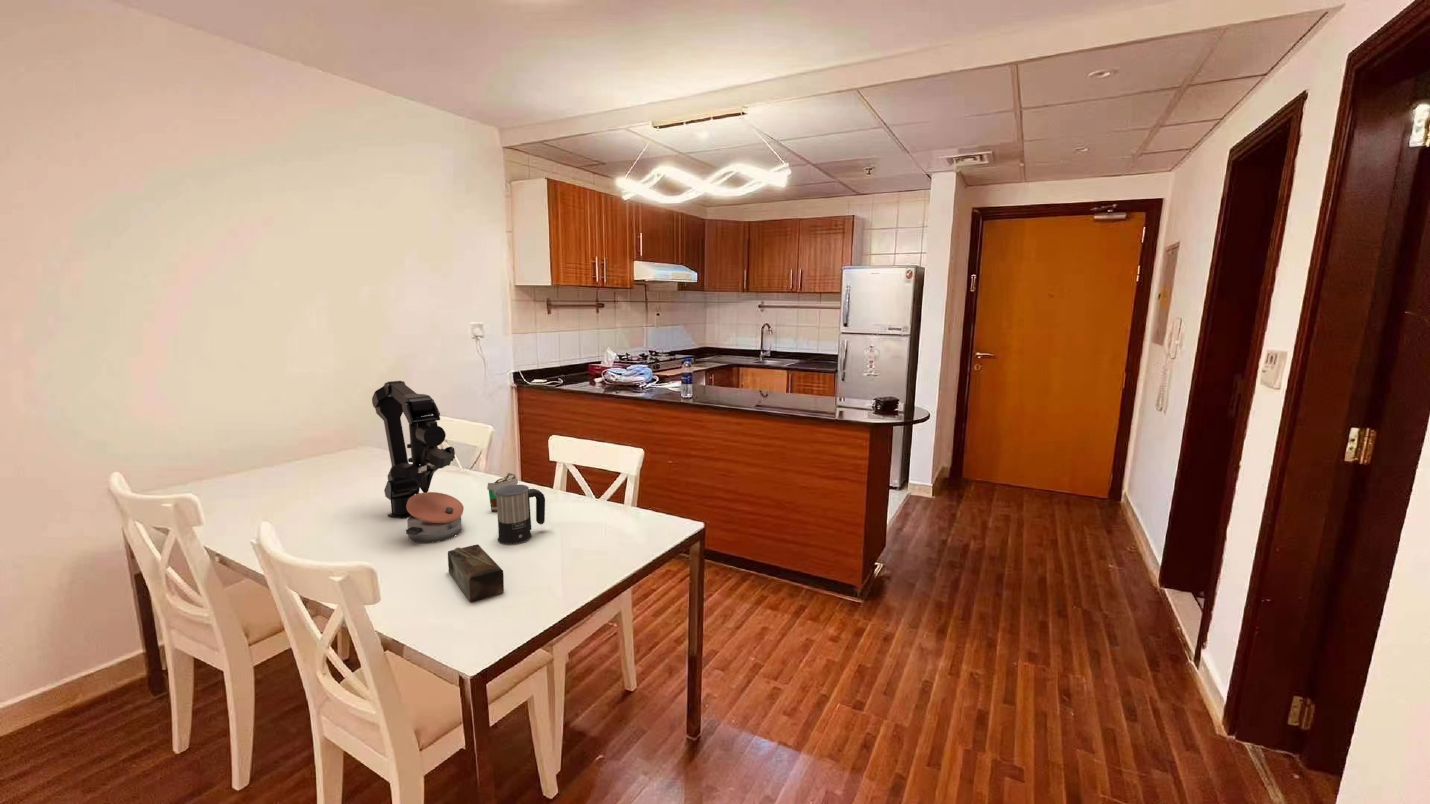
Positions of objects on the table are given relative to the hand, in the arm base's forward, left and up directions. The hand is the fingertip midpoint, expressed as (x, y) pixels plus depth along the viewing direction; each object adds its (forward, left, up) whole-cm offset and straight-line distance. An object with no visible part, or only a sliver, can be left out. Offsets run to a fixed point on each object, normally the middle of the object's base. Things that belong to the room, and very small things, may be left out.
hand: (425, 492), depth 164 cm
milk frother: (+24, +6, -12) cm, 28 cm away
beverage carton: (+32, -23, -13) cm, 41 cm away
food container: (+11, +24, -12) cm, 29 cm away
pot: (+3, 0, -12) cm, 12 cm away
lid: (+3, 0, -5) cm, 6 cm away
